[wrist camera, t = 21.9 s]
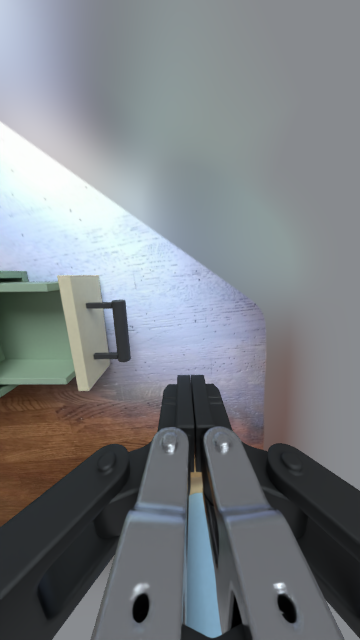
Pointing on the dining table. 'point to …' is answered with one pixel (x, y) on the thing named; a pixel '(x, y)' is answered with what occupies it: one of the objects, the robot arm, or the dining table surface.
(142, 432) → the dining table surface
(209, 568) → the light blue cylinder
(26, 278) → the cabinet
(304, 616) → the robot arm
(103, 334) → the drawer
